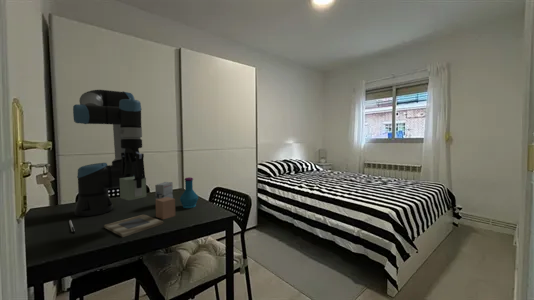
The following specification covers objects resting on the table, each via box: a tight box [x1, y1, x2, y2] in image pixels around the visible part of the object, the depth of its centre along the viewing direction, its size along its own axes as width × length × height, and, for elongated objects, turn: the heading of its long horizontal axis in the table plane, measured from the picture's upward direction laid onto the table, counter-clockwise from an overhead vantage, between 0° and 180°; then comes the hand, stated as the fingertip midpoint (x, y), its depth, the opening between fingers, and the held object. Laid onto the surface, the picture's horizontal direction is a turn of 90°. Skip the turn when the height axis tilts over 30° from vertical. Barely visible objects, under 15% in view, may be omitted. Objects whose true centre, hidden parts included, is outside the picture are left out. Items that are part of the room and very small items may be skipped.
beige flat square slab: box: [103, 214, 164, 238], centre depth 97 cm, size 16×16×1 cm
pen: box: [68, 219, 76, 235], centre depth 96 cm, size 1×19×1 cm, turn 43°
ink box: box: [154, 181, 174, 200], centre depth 126 cm, size 9×5×12 cm, turn 168°
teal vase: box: [179, 176, 199, 209], centre depth 123 cm, size 9×9×15 cm
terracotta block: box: [155, 197, 176, 220], centre depth 108 cm, size 6×6×8 cm
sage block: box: [119, 176, 147, 201], centre depth 96 cm, size 7×7×8 cm
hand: (133, 194), depth 96 cm, fingers closed on sage block, 7 cm apart
